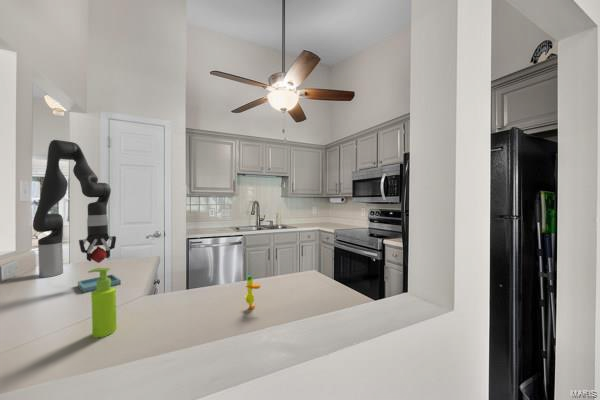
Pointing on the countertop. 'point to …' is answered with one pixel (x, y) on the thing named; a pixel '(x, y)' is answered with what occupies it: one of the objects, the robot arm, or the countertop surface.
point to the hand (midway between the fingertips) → (98, 259)
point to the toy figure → (250, 291)
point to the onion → (98, 254)
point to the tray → (92, 283)
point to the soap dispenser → (103, 305)
